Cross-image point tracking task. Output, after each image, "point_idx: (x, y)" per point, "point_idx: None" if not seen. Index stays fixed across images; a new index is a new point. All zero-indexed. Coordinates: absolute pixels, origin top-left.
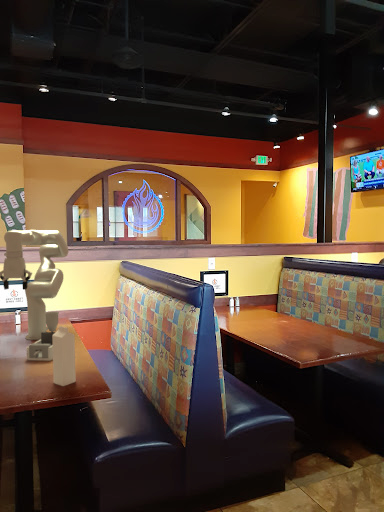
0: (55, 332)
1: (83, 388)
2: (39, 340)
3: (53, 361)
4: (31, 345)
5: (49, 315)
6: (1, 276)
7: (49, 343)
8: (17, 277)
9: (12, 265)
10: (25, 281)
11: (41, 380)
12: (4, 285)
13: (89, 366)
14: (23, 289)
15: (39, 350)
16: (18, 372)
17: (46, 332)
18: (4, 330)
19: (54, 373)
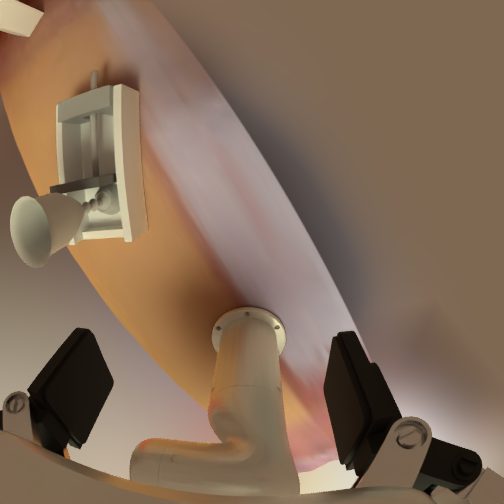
0: (57, 191)
1: None
2: (120, 173)
3: (19, 2)
4: (102, 87)
5: (26, 199)
6: (464, 483)
7: (94, 176)
8: (21, 446)
9: None
10: (19, 395)
11: (63, 9)
12: (365, 367)
13: (8, 107)
14: (84, 328)
15: None
16: (119, 15)
17: (83, 184)
18: None
19: (32, 8)
